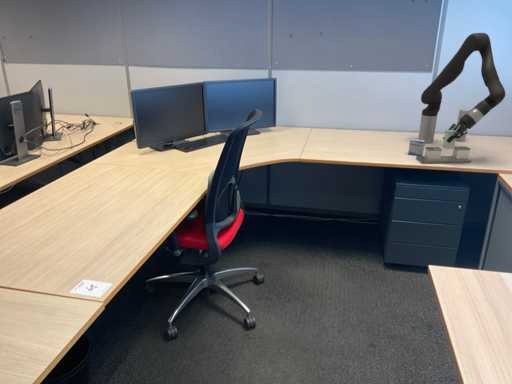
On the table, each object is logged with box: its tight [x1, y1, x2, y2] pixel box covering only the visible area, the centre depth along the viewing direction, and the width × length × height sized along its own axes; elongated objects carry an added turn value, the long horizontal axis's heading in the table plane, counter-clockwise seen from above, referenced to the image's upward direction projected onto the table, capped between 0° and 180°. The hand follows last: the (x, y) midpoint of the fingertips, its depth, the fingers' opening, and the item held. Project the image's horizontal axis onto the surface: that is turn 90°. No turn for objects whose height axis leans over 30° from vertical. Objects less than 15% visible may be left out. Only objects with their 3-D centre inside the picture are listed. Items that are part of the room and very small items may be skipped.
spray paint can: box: [455, 108, 471, 142], centre depth 273 cm, size 6×6×20 cm
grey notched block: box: [415, 146, 472, 165], centre depth 237 cm, size 9×27×8 cm, turn 92°
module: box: [442, 129, 456, 150], centre depth 233 cm, size 4×5×9 cm
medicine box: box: [407, 138, 426, 157], centre depth 248 cm, size 8×4×9 cm, turn 62°
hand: (445, 140), depth 234 cm, fingers closed on module, 4 cm apart
